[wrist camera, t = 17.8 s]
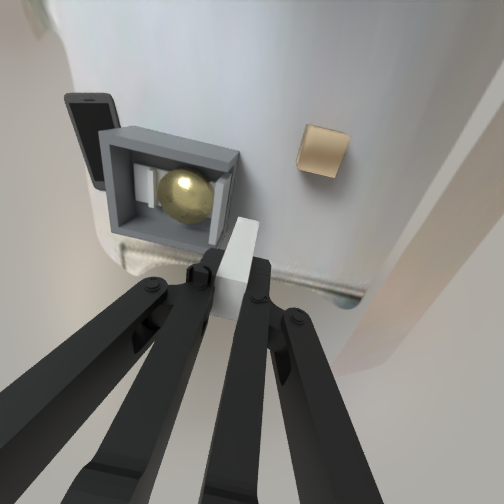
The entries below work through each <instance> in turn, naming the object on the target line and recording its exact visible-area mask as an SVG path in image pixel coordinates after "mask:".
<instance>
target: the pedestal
mask: <svg viewBox="0 0 504 504" xmlns="http://www.w3.org/2000/svg"><path fill="white" fill-rule="evenodd" d="M350 138H351V137H350V136H348V135H346V134H344V133H342V132H338V131H334V130H330V129H326V128H322V127H318V126H314V125H309V124H307V125H306V129H305V132H304V135H303V139H302V142H301V146H300V149H299V152H298V156H297V159H296V164H297V169H299V170H303V171H307V172H311V173H315V174H320V175H324V176H328V177H332V178H335V176H336V174H337V171H338V169H339V166H340V164H341V161H342V158H343V156H344V153H345V151H346V148H347V146H348V143H349V141H350Z"/></svg>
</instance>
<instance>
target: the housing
mask: <svg viewBox="0 0 504 504" xmlns="http://www.w3.org/2000/svg"><path fill="white" fill-rule="evenodd" d="M98 134H99V141H100V149H101V157H102V164H103V172H104V180H105V187H106V195H107V203H108V210H109V218H110V226H111V233H115V234H120V235H124V236H128V237H132V238H137V239H141V240H145V241H150V242H154V243H158V244H162V245H167V246H171V247H175V248H179V249H184V250H188V251H192V252H196V253H201V254H204V253H205V251H207V250H208V249H210V248H211V247H212V248H216V249H219V247H220V245H221V243H222V240H223V238H224V236H225V234H226V229H227V223H228V217H229V211H230V205H231V198H232V192H233V186H234V180H235V174H236V168H237V162H238V156H239V151H236V150H232V149H228V148H224V147H219V146H215V145H211V144H207V143H203V142H199V141H195V140H190V139H186V138H182V137H178V136H174V135H170V134H166V133H161V132H157V131H153V130H149V129H145V128H141V127H136V126H129V127H122V128H116V129H109V130H103V131H98ZM134 163H140V164H144V165H148V166H153V167H157V168H161V169H165V170H169V171H172V170H174V169H176V168H180V167H188V168H192V169H195V170H197V171H199V172H201V173H202V174H203V175H204V176H205V177H206V178H207V179H208V180H211V181H215V182H217V181H218V179H219V178H220V177H221V176H222V175H223V174H224V172H227V173H231V174H232V175H231V181H230V188H229V194H228V201H227V207H226V213H225V220H224V226H223V230H222V232H221V234H220V236H219V238H218V241H217V243H216V245H212V244H208V243H209V235H210V227H211V219H212V218H209V217H206V218H205V219H204V220H202V221H200V222H198V223H194V224H186V223H182V222H179V221H177V220H175V219H173V218H172V217H170V216H169V215H168V214H167V213H166V212H165V211H164V209H163V208H162V206H158V205H157V206H156V207H155V208H151V207H149V204H148V203H145V202H141V201H137V200H136V194H135V178H134Z"/></svg>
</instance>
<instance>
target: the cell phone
mask: <svg viewBox="0 0 504 504" xmlns="http://www.w3.org/2000/svg"><path fill="white" fill-rule="evenodd" d="M64 101H65V104H66V107H67V110H68V113H69V116H70V119H71V121H72V124H73V127H74V130H75V133H76V136H77V139H78V142H79V145H80V148H81V151H82V154H83V157H84V160H85V162H86V165H87V168H88V171H89V174H90V177H91V180H92V183H93V185H94V187H95V188H96V189H99V190H106V187H105V180H104V172H103V164H102V157H101V149H100V141H99V134H98V131H103V130H109V129H116V128H121V127H120V123H119V119H118V115H117V111H116V107H115V104H114V101H113V98H112V96H111V95H110V94H107V93H67V94H65V95H64Z"/></svg>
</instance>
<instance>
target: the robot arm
mask: <svg viewBox="0 0 504 504" xmlns="http://www.w3.org/2000/svg"><path fill="white" fill-rule="evenodd" d="M259 222H260V221H255V220H251V219H247V218H242V217H238V219H237V222H236V224H235V227H234V230H233V232H232V235H231V238H230V240H229V243H228V245H227V248H226V251H225V250H221V249H216V248H212V247H211V248H210V249H208V250H207V251H205V253H204V255H203V258H202V259H201V262H200V263H198V264H193V265H191V266H189V267H188V268H187V274H186V283H184V284H179V285H168V284H167V282H166V281H165V280H164V279H162V278H160V277H148V278H145V279H143V280H141V281H140V282H138V283H137V284H136V285H135V286H133V287H132V288H131V289H130V290H128V291H127V292H126V293H125V294H124V295H122V296H121V297H120V298H118V299H117V300H116V301H115V302H113V303H112V304H111V305H110V306H108V307H107V308H106V309H105V310H103V311H102V312H101V313H99V314H98V315H97V316H96V317H95V318H93V319H92V320H91V321H89V322H88V323H87V324H86V325H84V326H83V327H82V328H81V329H79V330H78V331H77V332H76V333H74V334H73V335H72V336H71V337H69V338H68V339H67V340H66V341H64V342H63V343H62V344H61V345H59V346H58V347H57V348H55V349H54V350H53V351H52V352H51V353H49V354H48V355H47V356H46V357H44V358H43V359H42V360H40V361H39V362H38V363H37V364H36V365H34V366H33V367H32V368H30V369H29V370H28V371H27V372H25V373H24V374H23V375H22V376H20V377H19V378H18V379H17V380H15V381H14V382H13V383H12V384H10V385H9V386H8V387H6V388H5V389H4V390H3V391H1V392H0V504H14V503H15V502H16V501H17V500H18V498H19V497H20V496H21V495H22V494H23V493H24V492H25V490H26V489H27V488H28V487H29V486H30V485H31V483H32V482H33V481H34V480H35V479H36V478H37V476H38V475H39V474H40V473H41V472H42V471H43V470H44V468H45V467H46V466H47V465H48V464H49V463H50V462H51V460H52V459H53V458H54V457H55V456H56V454H57V453H58V452H59V451H60V450H61V449H62V448H63V446H64V445H65V444H66V443H67V442H68V441H69V439H70V438H71V437H72V436H73V435H74V433H76V431H77V430H78V429H79V428H80V427H81V426H82V424H83V423H84V422H85V421H86V420H87V419H88V417H89V416H90V415H91V414H92V413H93V412H94V411H95V409H96V408H97V407H98V406H99V405H100V403H101V402H102V401H103V400H104V399H105V398H106V397H107V396H108V394H109V393H110V392H111V391H112V390H113V389H114V387H115V386H116V385H117V384H118V383H119V382H120V380H121V379H122V378H123V377H124V376H125V375H126V374H127V372H128V371H129V370H130V369H131V368H132V366H133V365H134V364H135V363H136V362H137V361H138V360H139V358H140V357H141V356H142V355H143V354H144V353H145V351H146V350H147V349H148V348H149V347H150V346H151V345H152V343H153V342H154V341H155V342H154V344H153V346H152V348H151V350H150V352H149V354H148V356H147V358H146V359H145V361H144V363H143V365H142V367H141V369H140V371H139V373H138V375H137V376H136V379H135V380H134V382H133V384H132V386H131V388H130V390H129V392H128V394H127V396H126V397H125V399H124V401H123V403H122V405H121V407H120V409H119V411H118V413H117V415H116V416H115V418H114V420H113V422H112V424H111V426H110V428H109V430H108V432H107V434H106V436H105V437H104V439H103V441H102V443H101V445H100V447H99V449H98V451H97V453H96V454H95V456H94V457H93V459H92V460H91V461H90V462H89V463H88V464H87V465H85V466H84V467H83V468H82V470H81V471H80V472H79V473H78V475H77V476H76V478H75V479H74V481H73V482H72V484H71V486H70V487H69V489H68V491H67V493H66V494H65V496H64V498H63V500H62V502H61V504H148V503H149V499H150V495H151V492H152V489H153V486H154V483H155V479H156V477H157V474H158V471H159V468H160V465H161V462H162V459H163V456H164V453H165V450H166V447H167V444H168V441H169V438H170V435H171V432H172V429H173V426H174V423H175V420H176V417H177V414H178V411H179V408H180V405H181V402H182V399H183V396H184V393H185V390H186V387H187V384H188V381H189V378H190V375H191V372H192V369H193V366H194V363H195V360H196V357H197V354H198V351H199V348H200V345H201V342H202V339H203V336H204V333H205V330H206V327H207V324H208V318H209V315H212V316H216V317H221V318H225V319H230V320H234V321H237V325H236V329H235V333H234V337H233V343H232V348H231V352H230V357H229V362H228V366H227V371H226V376H225V381H224V385H223V390H222V394H221V399H220V404H219V408H218V413H217V418H216V422H215V427H214V432H213V436H212V441H211V446H210V451H209V455H208V460H207V465H206V469H205V474H204V479H203V483H202V488H201V493H200V497H199V502H198V504H259V503H258V499H257V482H258V468H259V454H260V440H261V426H262V412H263V399H264V385H265V371H266V357H267V348H268V349H270V353H271V358H272V364H273V369H274V373H275V378H276V384H277V389H278V393H279V399H280V404H281V409H282V414H283V419H284V424H285V429H286V434H287V439H288V444H289V449H290V454H291V460H292V464H293V470H294V475H295V479H296V485H297V490H298V495H299V500H300V504H384V503H383V500H382V498H381V495H380V493H379V490H378V488H377V485H376V483H375V480H374V478H373V475H372V472H371V470H370V467H369V465H368V462H367V460H366V457H365V455H364V452H363V450H362V447H361V445H360V442H359V440H358V437H357V435H356V432H355V429H354V427H353V425H352V422H351V419H350V417H349V414H348V412H347V409H346V407H345V404H344V402H343V399H342V397H341V394H340V391H339V389H338V386H337V384H336V381H335V379H334V376H333V374H332V371H331V369H330V366H329V364H328V361H327V359H326V356H325V354H324V351H323V349H322V346H321V344H320V341H319V338H318V336H317V333H316V331H315V329H314V326H313V323H312V321H311V318H310V317H309V315H308V314H307V313H306V312H305V311H303V310H301V309H299V308H289V309H287V310H283V309H281V308H279V307H277V306H276V305H275V304H274V303H273V302H272V301H271V300H270V297H269V289H270V276H271V264H270V262H269V260H266V259H262V258H258V257H253V252H254V247H255V242H256V237H257V232H258V227H259Z"/></svg>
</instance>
